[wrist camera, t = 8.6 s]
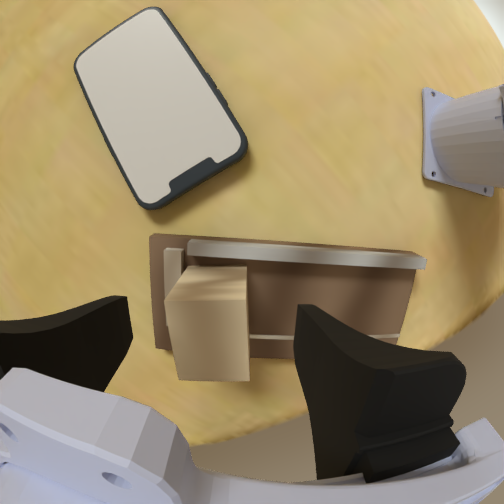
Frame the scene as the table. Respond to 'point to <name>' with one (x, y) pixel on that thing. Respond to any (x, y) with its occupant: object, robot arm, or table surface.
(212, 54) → the table surface
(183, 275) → the block
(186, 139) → the smartphone
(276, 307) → the board
